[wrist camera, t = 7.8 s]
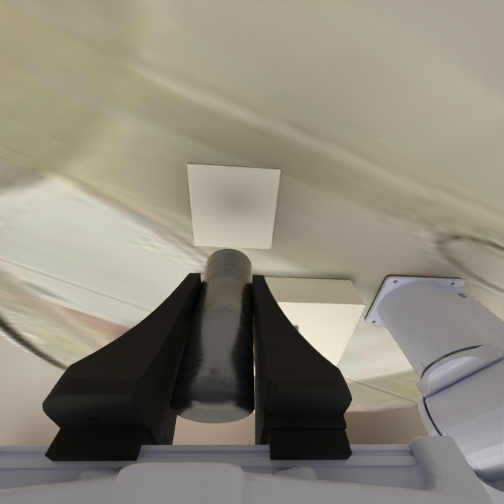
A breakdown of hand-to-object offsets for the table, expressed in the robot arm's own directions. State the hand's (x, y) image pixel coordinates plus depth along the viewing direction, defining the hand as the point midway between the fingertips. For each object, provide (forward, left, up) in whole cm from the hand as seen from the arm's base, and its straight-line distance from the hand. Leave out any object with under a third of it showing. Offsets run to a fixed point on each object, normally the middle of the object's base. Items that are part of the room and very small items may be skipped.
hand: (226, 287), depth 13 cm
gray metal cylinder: (0, 0, -2) cm, 2 cm away
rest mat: (0, -1, -10) cm, 10 cm away
